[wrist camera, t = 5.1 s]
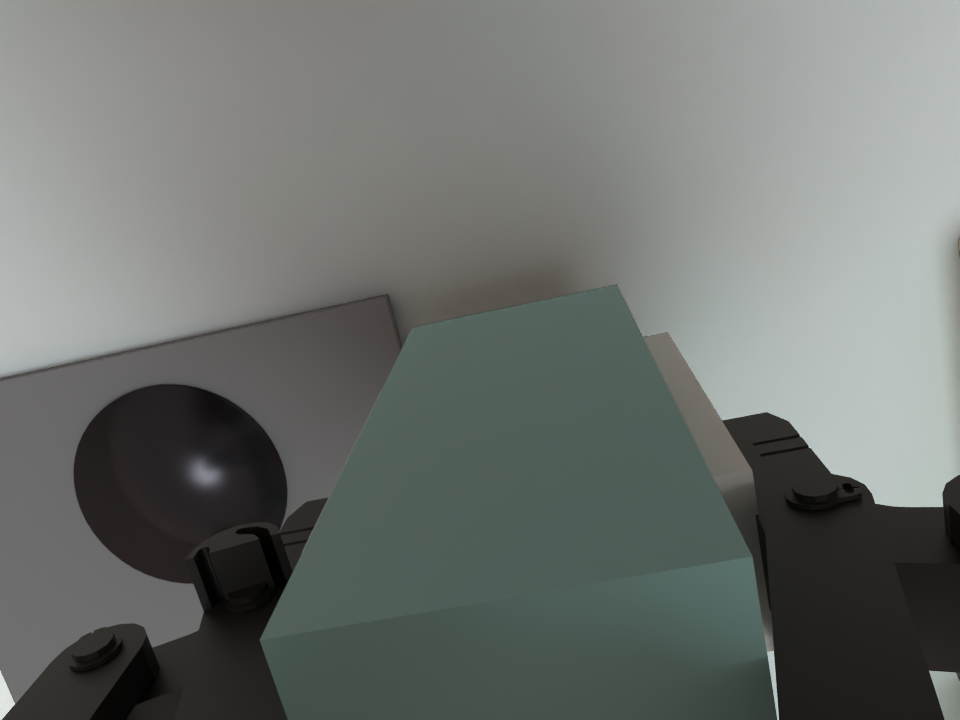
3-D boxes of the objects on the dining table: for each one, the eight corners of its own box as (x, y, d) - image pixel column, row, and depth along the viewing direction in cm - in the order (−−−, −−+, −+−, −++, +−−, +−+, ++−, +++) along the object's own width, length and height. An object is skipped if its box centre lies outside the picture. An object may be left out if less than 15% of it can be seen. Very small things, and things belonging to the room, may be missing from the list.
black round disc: (53, 403, 23) (42, 410, 23) (255, 360, 23) (249, 366, 22) (124, 588, 25) (115, 600, 24) (315, 552, 24) (311, 563, 24)
